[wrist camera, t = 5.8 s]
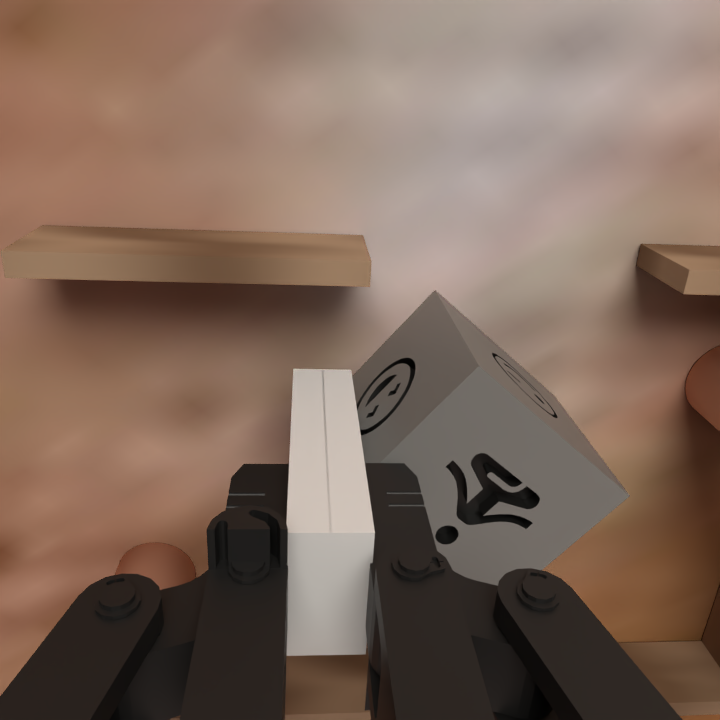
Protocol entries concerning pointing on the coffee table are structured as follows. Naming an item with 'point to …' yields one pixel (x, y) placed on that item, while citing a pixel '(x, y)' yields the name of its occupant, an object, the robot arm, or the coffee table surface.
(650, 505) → the coffee table surface
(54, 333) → the coffee table surface
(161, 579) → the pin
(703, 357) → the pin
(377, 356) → the dice cube
